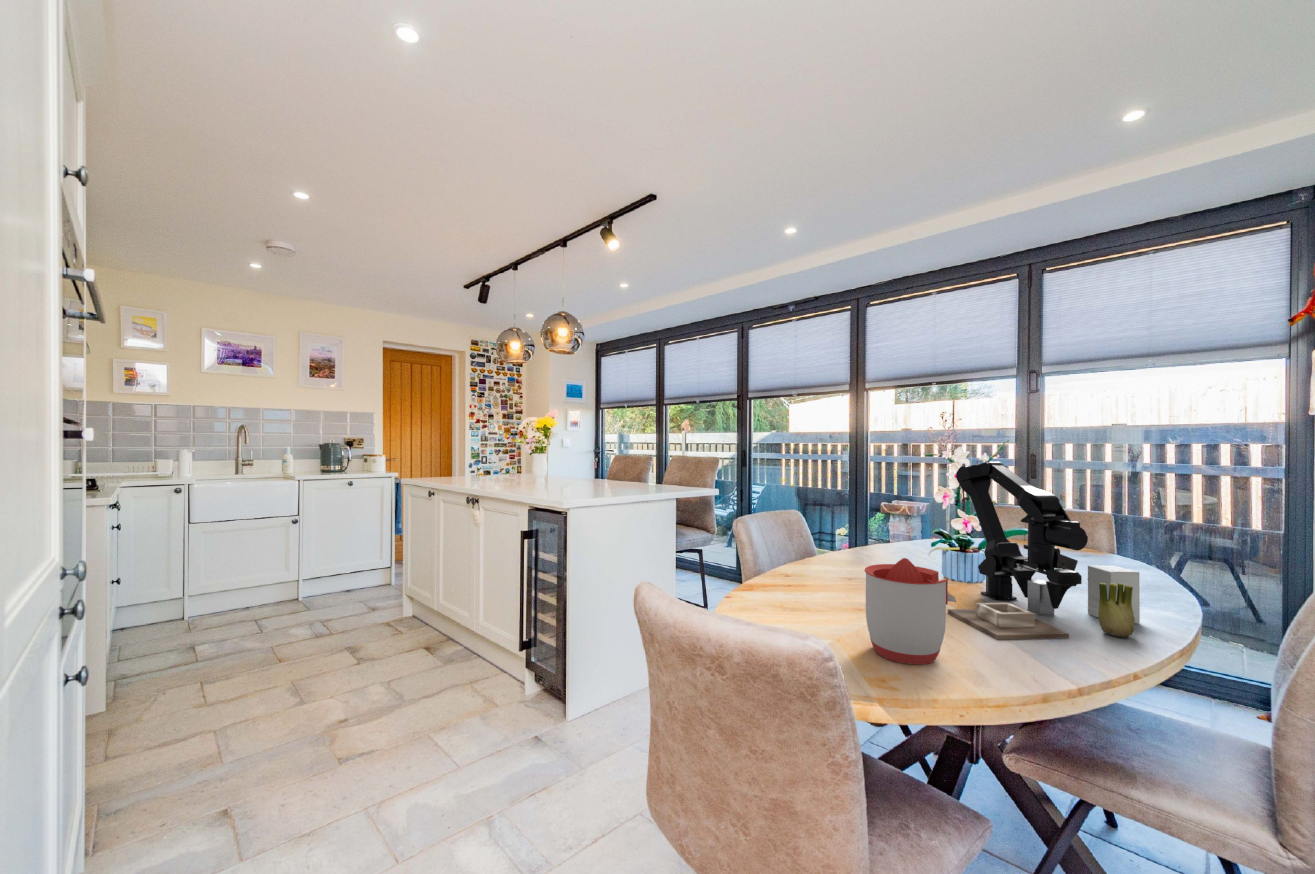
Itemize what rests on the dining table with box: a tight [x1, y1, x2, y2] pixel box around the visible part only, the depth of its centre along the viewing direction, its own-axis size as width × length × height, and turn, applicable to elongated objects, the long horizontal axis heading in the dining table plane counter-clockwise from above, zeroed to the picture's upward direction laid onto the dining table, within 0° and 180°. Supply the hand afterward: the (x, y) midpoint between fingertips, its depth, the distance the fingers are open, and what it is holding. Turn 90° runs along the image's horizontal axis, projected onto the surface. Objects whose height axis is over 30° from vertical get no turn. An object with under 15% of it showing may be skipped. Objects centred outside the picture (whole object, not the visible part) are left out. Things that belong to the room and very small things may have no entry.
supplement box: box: [1087, 564, 1141, 624], centre depth 134 cm, size 7×7×13 cm
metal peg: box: [1027, 579, 1055, 617], centre depth 138 cm, size 4×4×8 cm
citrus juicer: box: [864, 557, 957, 665], centre depth 110 cm, size 16×17×20 cm
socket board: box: [947, 602, 1070, 640], centre depth 129 cm, size 18×17×4 cm
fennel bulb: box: [1098, 583, 1136, 639], centre depth 122 cm, size 6×5×12 cm
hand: (1040, 602), depth 138 cm, fingers open, 9 cm apart
